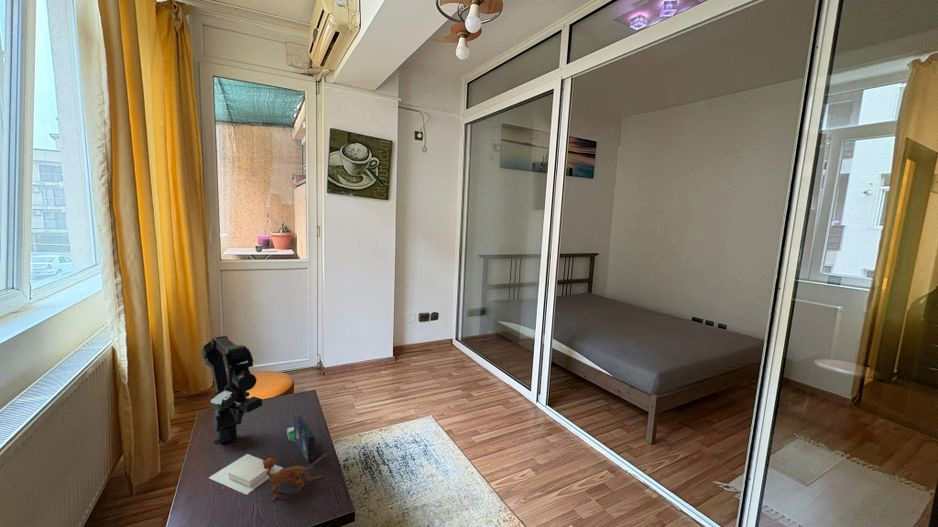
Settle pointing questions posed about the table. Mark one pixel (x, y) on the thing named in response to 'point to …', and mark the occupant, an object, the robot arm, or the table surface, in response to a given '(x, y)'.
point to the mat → (225, 480)
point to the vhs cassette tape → (304, 438)
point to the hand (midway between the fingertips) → (238, 421)
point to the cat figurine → (285, 475)
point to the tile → (249, 472)
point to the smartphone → (290, 433)
